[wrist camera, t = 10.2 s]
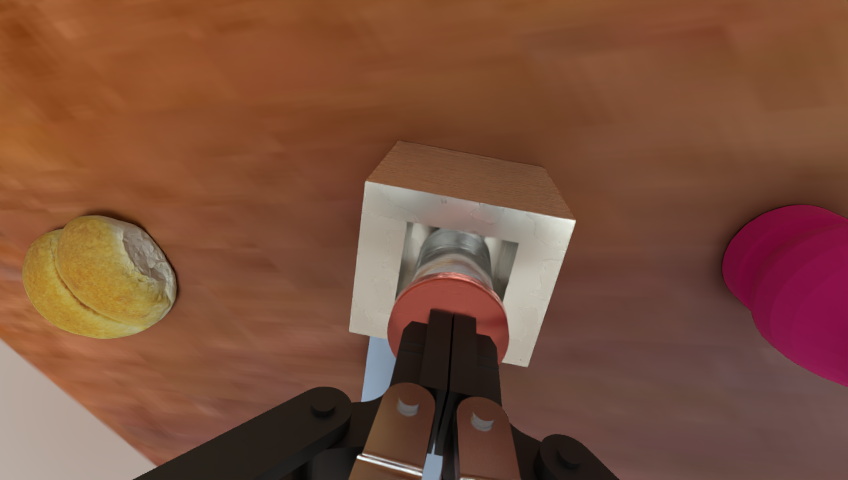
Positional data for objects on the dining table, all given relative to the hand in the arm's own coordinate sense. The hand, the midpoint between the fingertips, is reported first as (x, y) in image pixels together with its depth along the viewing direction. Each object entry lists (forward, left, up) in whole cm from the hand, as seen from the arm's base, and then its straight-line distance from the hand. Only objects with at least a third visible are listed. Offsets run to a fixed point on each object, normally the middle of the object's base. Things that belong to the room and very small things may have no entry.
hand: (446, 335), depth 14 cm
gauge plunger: (0, 0, -6) cm, 6 cm away
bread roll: (+22, +9, -12) cm, 26 cm away
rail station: (0, +12, -12) cm, 17 cm away
